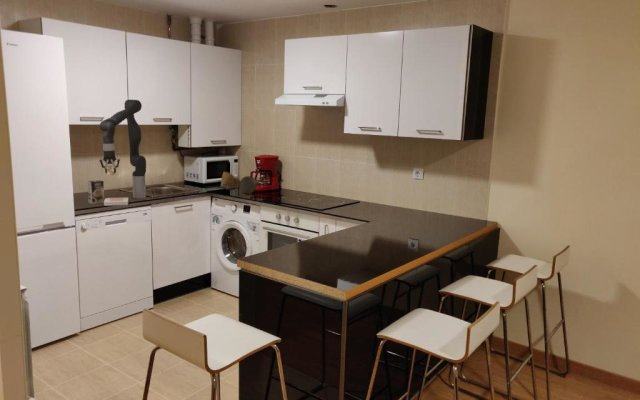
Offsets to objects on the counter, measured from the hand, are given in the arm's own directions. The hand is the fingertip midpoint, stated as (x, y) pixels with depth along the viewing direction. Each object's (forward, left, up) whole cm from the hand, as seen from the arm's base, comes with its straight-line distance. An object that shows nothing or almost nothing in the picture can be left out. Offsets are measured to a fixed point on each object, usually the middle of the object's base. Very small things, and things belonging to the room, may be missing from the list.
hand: (110, 173), depth 350 cm
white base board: (-3, -2, -22) cm, 23 cm away
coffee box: (+11, -6, -23) cm, 26 cm away
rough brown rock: (-97, -56, -23) cm, 114 cm away
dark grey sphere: (-106, -25, -23) cm, 111 cm away
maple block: (0, 0, -1) cm, 1 cm away
